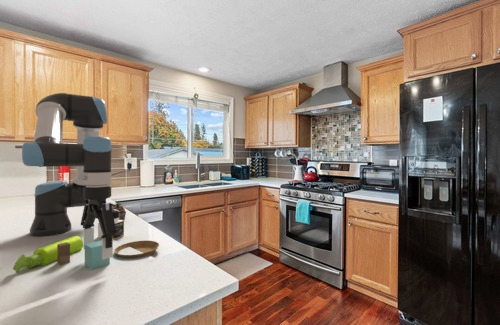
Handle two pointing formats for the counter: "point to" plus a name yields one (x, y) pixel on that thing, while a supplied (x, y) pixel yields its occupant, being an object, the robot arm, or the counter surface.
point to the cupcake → (120, 209)
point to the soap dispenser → (47, 254)
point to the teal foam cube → (94, 255)
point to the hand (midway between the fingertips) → (97, 252)
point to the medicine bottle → (118, 224)
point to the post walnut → (63, 253)
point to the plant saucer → (139, 248)
